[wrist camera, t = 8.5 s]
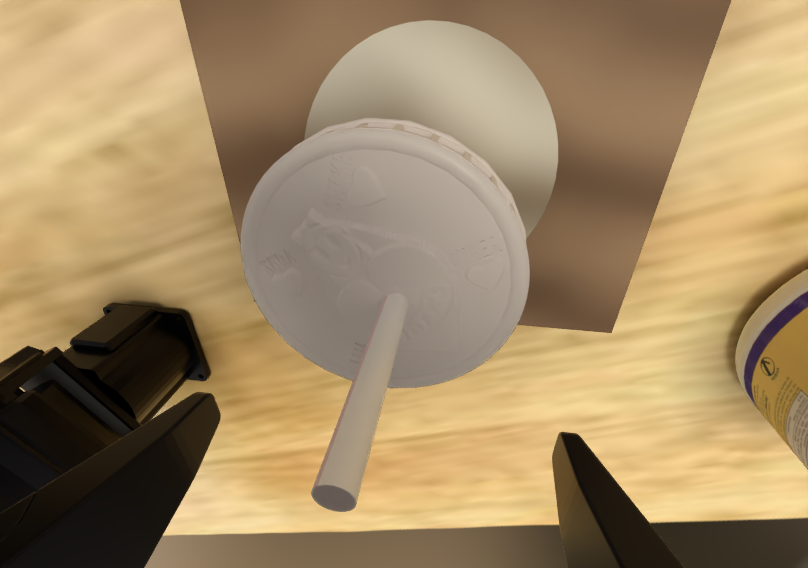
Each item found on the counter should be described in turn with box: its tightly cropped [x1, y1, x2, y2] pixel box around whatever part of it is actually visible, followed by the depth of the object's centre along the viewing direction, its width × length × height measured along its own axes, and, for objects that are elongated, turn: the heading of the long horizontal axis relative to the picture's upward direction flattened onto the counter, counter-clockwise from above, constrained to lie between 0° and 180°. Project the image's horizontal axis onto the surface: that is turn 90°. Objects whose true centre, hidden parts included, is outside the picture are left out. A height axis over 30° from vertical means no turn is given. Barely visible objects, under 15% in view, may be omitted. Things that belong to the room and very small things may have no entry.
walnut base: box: [180, 0, 731, 333], centre depth 17 cm, size 16×20×3 cm
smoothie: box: [241, 118, 530, 512], centre depth 10 cm, size 6×6×14 cm
